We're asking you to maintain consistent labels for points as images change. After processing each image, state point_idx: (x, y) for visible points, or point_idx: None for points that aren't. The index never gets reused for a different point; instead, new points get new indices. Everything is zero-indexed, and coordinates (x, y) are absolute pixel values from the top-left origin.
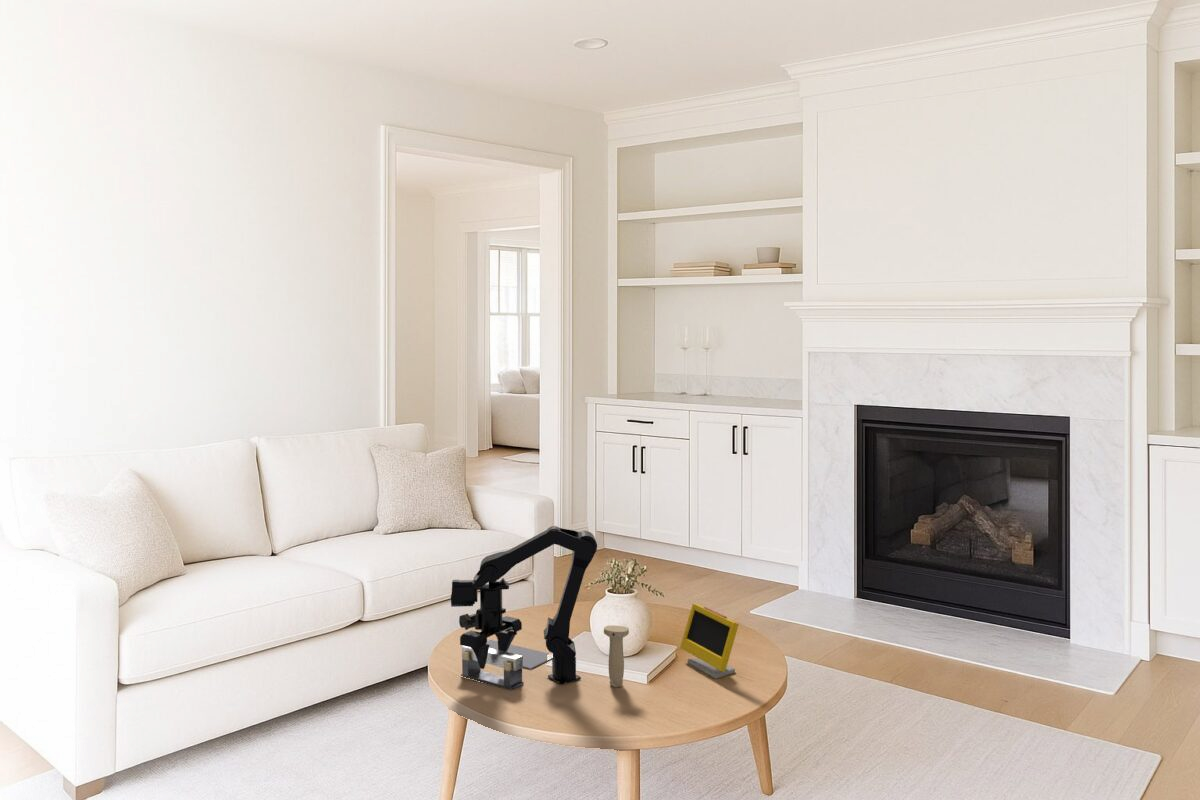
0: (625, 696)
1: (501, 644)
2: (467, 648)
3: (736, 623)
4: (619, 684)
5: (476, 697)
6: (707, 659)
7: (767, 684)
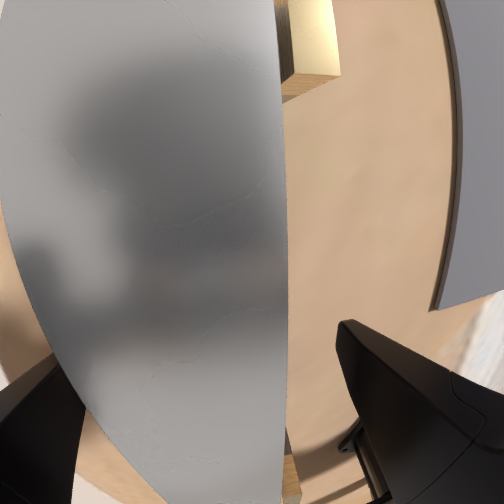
0: (333, 498)
1: (411, 447)
2: (5, 44)
3: None
4: None
5: (37, 348)
6: None
7: None
